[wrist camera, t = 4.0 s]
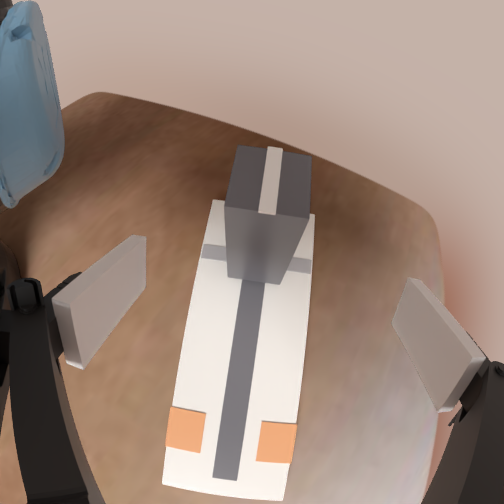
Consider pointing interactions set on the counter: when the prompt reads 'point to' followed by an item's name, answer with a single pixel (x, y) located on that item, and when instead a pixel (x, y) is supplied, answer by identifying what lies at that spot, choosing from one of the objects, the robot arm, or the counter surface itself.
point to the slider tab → (265, 212)
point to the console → (239, 375)
